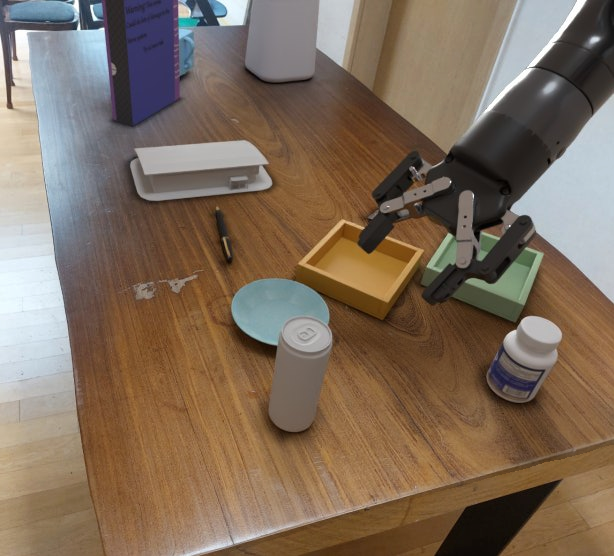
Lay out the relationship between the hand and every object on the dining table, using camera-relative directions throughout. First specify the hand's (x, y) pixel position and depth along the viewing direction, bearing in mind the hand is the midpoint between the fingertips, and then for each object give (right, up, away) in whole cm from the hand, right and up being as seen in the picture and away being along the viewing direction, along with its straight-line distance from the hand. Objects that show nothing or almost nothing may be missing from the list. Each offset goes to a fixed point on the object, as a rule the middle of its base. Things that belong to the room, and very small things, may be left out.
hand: (393, 274), depth 50 cm
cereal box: (-34, +35, +64) cm, 80 cm away
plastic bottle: (-5, +51, +86) cm, 100 cm away
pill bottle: (+16, -13, +10) cm, 23 cm away
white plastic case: (-21, +18, +44) cm, 52 cm away
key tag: (+10, +10, +36) cm, 39 cm away
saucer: (-10, -6, +16) cm, 20 cm away
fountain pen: (-17, +6, +30) cm, 35 cm away
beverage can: (-9, -15, +6) cm, 18 cm away
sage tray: (+19, 0, +25) cm, 32 cm away
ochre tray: (+2, 0, +24) cm, 24 cm away
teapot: (-33, +48, +80) cm, 99 cm away
